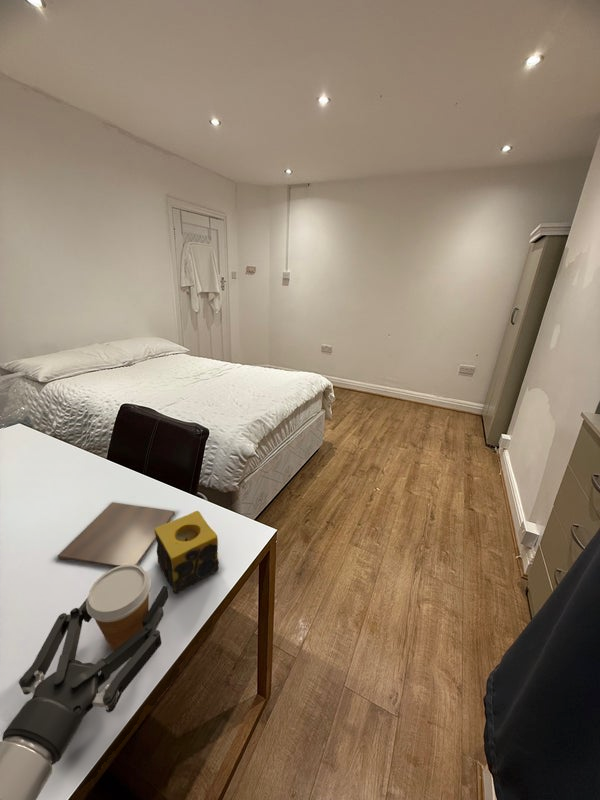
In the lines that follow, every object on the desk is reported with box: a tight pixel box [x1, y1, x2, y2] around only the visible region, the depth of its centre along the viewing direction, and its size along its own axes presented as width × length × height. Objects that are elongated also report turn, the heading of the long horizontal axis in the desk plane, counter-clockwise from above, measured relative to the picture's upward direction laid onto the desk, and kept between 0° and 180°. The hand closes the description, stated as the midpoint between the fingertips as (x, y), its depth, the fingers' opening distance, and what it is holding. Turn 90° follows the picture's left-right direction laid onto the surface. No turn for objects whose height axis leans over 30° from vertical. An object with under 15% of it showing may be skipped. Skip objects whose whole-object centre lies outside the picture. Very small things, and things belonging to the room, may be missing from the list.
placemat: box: [57, 502, 176, 568], centre depth 78 cm, size 18×18×1 cm
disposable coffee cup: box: [86, 565, 152, 652], centre depth 55 cm, size 10×10×12 cm
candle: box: [154, 510, 220, 595], centre depth 69 cm, size 10×10×10 cm
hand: (138, 586), depth 59 cm, fingers open, 10 cm apart
